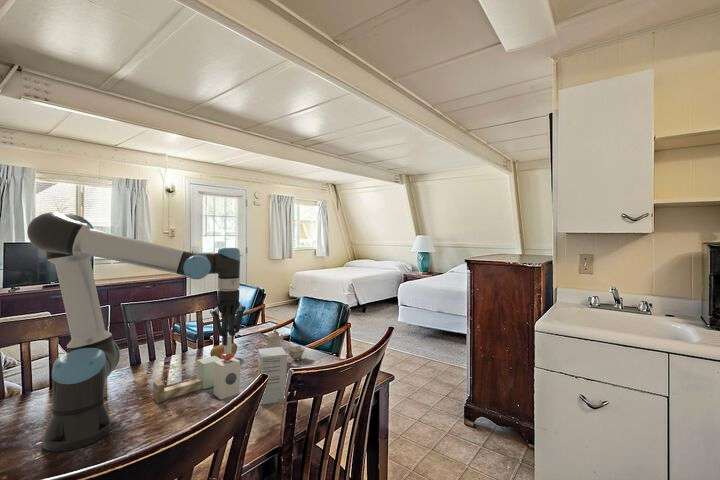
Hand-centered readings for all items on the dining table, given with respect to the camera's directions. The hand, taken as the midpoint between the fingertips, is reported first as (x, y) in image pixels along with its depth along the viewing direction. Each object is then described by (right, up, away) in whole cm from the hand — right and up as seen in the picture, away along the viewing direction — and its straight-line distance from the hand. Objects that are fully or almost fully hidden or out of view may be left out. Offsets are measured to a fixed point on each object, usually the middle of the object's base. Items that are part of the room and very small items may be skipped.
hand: (227, 353), depth 126 cm
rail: (-14, -15, +3) cm, 21 cm away
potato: (-15, -15, +33) cm, 39 cm away
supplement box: (+17, -16, -2) cm, 23 cm away
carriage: (-10, -15, +7) cm, 19 cm away
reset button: (0, -5, 0) cm, 5 cm away
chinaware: (+12, -16, +30) cm, 36 cm away
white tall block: (0, -15, 0) cm, 15 cm away
